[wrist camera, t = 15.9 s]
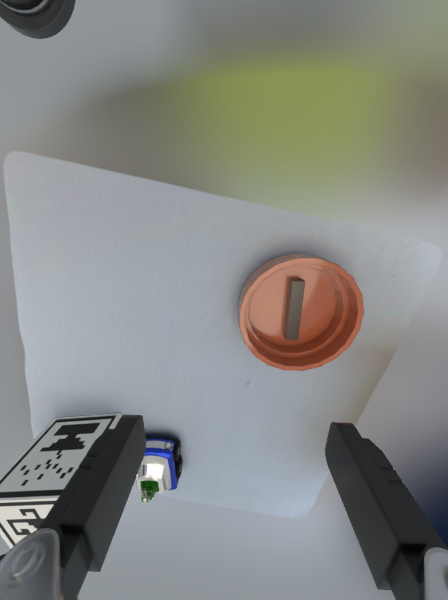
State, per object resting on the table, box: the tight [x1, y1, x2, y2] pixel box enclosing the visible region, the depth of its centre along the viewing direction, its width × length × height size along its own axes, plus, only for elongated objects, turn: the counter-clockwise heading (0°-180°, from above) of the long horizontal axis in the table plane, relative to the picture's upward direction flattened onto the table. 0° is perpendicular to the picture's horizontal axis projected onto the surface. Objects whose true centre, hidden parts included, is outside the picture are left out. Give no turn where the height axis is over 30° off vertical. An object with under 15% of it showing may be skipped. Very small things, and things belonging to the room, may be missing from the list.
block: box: [0, 413, 122, 548], centre depth 41 cm, size 15×15×15 cm
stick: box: [283, 278, 305, 340], centre depth 35 cm, size 2×10×2 cm, turn 0°
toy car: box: [136, 439, 182, 502], centre depth 44 cm, size 9×12×10 cm
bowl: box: [238, 254, 364, 371], centre depth 34 cm, size 18×18×6 cm
